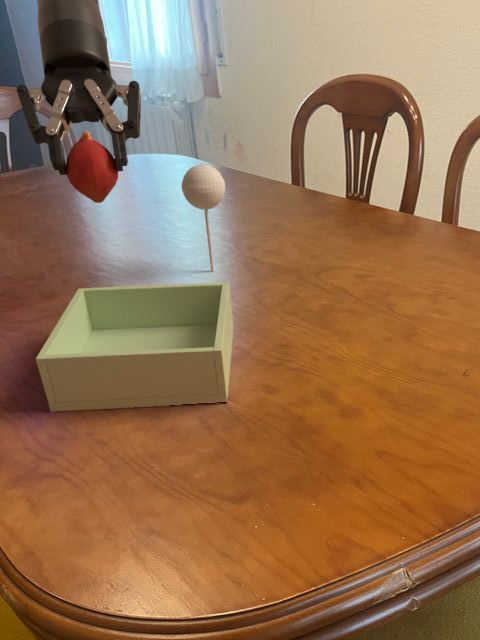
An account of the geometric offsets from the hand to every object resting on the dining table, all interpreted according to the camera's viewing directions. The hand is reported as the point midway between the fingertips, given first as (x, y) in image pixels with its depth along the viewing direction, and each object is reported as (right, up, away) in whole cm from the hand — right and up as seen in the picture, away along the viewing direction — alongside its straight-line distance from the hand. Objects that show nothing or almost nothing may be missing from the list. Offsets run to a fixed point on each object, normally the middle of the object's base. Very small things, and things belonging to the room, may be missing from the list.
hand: (91, 168), depth 75 cm
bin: (+7, -23, -2) cm, 24 cm away
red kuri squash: (0, -3, +4) cm, 5 cm away
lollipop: (+10, -7, +23) cm, 26 cm away
